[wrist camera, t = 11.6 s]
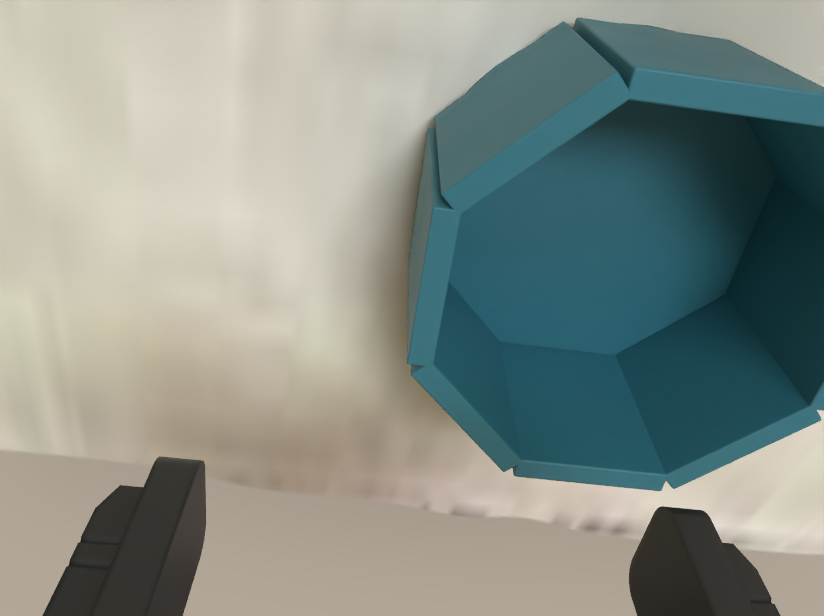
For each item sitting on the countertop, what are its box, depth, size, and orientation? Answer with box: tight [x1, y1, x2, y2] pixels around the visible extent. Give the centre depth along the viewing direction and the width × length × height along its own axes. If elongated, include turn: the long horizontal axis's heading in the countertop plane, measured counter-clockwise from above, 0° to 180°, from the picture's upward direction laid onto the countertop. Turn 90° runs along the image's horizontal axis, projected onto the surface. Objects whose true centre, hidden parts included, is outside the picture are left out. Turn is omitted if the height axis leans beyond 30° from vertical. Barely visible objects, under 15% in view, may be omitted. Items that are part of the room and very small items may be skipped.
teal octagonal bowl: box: [407, 18, 824, 491], centre depth 23 cm, size 14×14×8 cm
